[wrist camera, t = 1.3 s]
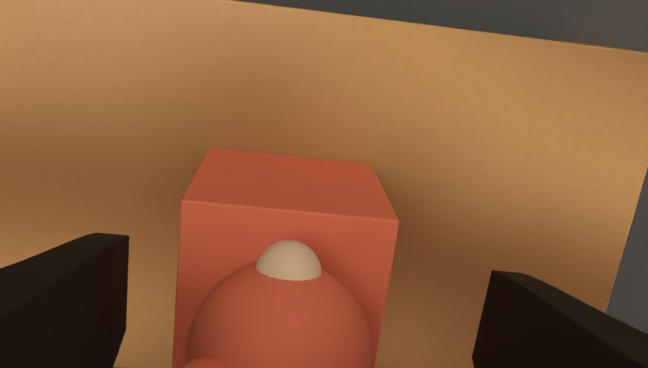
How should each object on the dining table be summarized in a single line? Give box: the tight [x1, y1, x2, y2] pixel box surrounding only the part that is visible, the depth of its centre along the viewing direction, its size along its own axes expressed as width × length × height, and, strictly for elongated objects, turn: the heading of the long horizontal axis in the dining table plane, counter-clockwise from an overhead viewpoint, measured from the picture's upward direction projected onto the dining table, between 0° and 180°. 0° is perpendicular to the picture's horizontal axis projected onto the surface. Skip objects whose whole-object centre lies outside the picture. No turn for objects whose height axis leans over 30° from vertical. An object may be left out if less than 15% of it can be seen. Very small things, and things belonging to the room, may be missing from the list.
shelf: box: [0, 0, 648, 368], centre depth 18 cm, size 12×18×6 cm, turn 83°
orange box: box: [172, 147, 399, 368], centre depth 13 cm, size 4×4×8 cm
